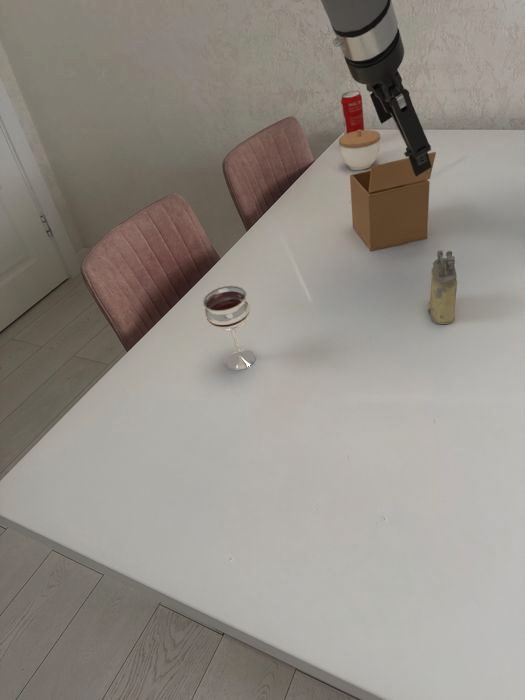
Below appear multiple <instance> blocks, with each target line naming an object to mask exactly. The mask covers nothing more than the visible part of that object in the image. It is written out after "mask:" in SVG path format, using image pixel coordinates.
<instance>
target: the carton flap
mask: <svg viewBox="0 0 525 700" xmlns="http://www.w3.org/2000/svg"><path fill="white" fill-rule="evenodd" d="M436 154H437V152H436V151H432V152H428V156H429V159H430V163H431V166H432V167H431V168H430V169H428V170H426V171H425V172H423V173H421V174H420V175H418V176H417V177H416V176H415V174H414V171H413V169H412V166H411V163H410V160H409V157H406V158H402V159H398V160H392V161H389V162H383V163H380V164H375V165H372V166H371V167H370V170H371V174H370V184H369V193H370V192H375V191H379V190H384V189H388V188H392V187H397V186H401V185H405V184H410V183H414V182H419V181H423V180H430V179H431V175H432V173H433V172H432V171H433V167H434V164H435V159H436Z"/></svg>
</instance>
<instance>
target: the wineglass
mask: <svg viewBox="0 0 525 700" xmlns="http://www.w3.org/2000/svg"><path fill="white" fill-rule="evenodd" d="M247 296H248V293H247V290H246V289H244V288H243V287H241V286H239V285H224V286H219V287H217V288H214V289H212V290H211V291H209V292H207V293H206V295H205V296H204V297H203V298H202V306H203V307H204V308H205V309H204V314H205V317H206V320H207V322H208V323H209V324H210V325H211V326H212V328H215V329H218V330H221V331H226V332H228V331H229V332H230V334H231V337H232V340H233V343H234V347H235V351H232V352H231V353H230V354H229V355H227V356H226V358H225V362H224V363H225V366H226V365H227V366H226V367H227V368H228V367H229V369H230V370H234V371H240V370H245V369H247V368H249V367H251V366H252V365H254V362H255V361H256V354H255V352H253V351H252V350H249V349H240V346H239V341H238V337H237V336H238V335H237V331H236V330H237V329H239V328H241V327H242V326H243V325H244V324H245V323H246V322H247V320H248V319H249V316H250V312H251V306H250V305H251V304H250V302H249V300H248V298H247ZM250 365H251V366H250ZM248 366H249V367H248Z"/></svg>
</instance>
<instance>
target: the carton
mask: <svg viewBox="0 0 525 700" xmlns="http://www.w3.org/2000/svg"><path fill="white" fill-rule="evenodd" d="M370 174H371V169H370V170H365V171H361V172H357V173H352V174H350V175H349V183H350V185H349V186H350V198H351V199H350V200H351V201H350V202H351V219H352V220H351V221H352V228H353V230H354V231H355V232H356V234H357V235H358V236H359V238H360V239H361V240H362V242H363V243H364V245H365V246H366V247H367V249H368V250H369V251H370V252H373V251H378V250H381V249H386V248H390V247H394V246H400V245H404V244H407V243H412V242H417V241H420V240H426V239H427V238H428V229H429V227H428V225H429V206H430V205H429V204H430V203H429V202H430V184H431V183H430V181H429V179H427V180H423V181H419V182H414V183H410V184H405V185H401V186H397V187H392V188H388V189H384V190H379V191H375V192H370V193H369V184H370Z"/></svg>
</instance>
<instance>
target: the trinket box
mask: <svg viewBox="0 0 525 700" xmlns="http://www.w3.org/2000/svg"><path fill="white" fill-rule="evenodd" d="M338 144H339V152H340V156H341V159H342V161H343V162H344V164H345V165H346V166H348V168H349V170H353V171H363V170H367V169H369V168H371V166H373V164H374V163H375V162H376V161H377V158H378V156H379V153H380V148H381V133H380V132H378V131H376V130H371V129H364V130H357V131H354V132H350V133H347V134H345V135H344V134H343V135H341V136H340V137H339V139H338Z"/></svg>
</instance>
